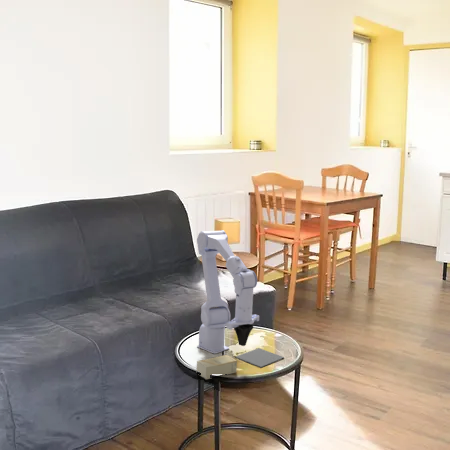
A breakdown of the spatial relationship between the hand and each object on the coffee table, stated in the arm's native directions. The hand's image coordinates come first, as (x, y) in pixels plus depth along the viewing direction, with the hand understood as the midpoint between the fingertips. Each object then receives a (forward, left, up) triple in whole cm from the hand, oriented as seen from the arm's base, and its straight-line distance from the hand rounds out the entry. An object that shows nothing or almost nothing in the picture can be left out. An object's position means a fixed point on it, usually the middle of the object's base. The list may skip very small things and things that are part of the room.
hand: (242, 344), depth 196 cm
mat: (-1, +11, -8) cm, 14 cm away
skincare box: (-1, -4, -6) cm, 7 cm away
